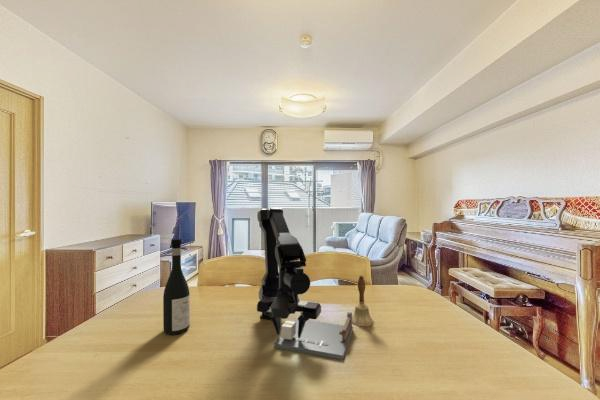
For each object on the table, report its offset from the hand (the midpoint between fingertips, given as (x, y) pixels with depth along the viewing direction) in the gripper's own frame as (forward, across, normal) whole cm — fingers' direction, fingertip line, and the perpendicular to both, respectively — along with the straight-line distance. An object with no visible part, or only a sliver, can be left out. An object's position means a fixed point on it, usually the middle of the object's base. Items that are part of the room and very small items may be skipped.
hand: (288, 335), depth 85 cm
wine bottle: (+2, -38, -4) cm, 38 cm away
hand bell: (+2, +19, +22) cm, 29 cm away
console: (+2, +7, +5) cm, 9 cm away
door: (+1, +15, +8) cm, 18 cm away
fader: (+1, 0, 0) cm, 1 cm away
